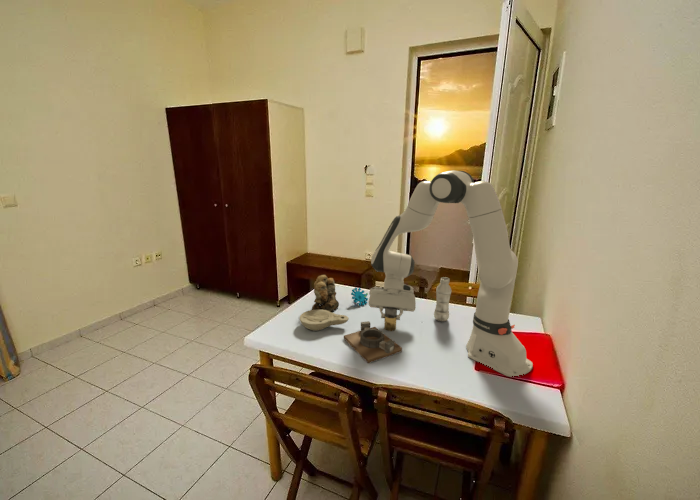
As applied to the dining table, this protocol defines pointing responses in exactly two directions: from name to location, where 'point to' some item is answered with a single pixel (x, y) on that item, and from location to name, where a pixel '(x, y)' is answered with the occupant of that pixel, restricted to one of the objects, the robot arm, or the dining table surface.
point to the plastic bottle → (442, 300)
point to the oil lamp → (321, 319)
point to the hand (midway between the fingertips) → (390, 318)
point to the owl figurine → (325, 294)
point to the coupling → (390, 319)
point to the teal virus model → (359, 296)
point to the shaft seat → (372, 343)
